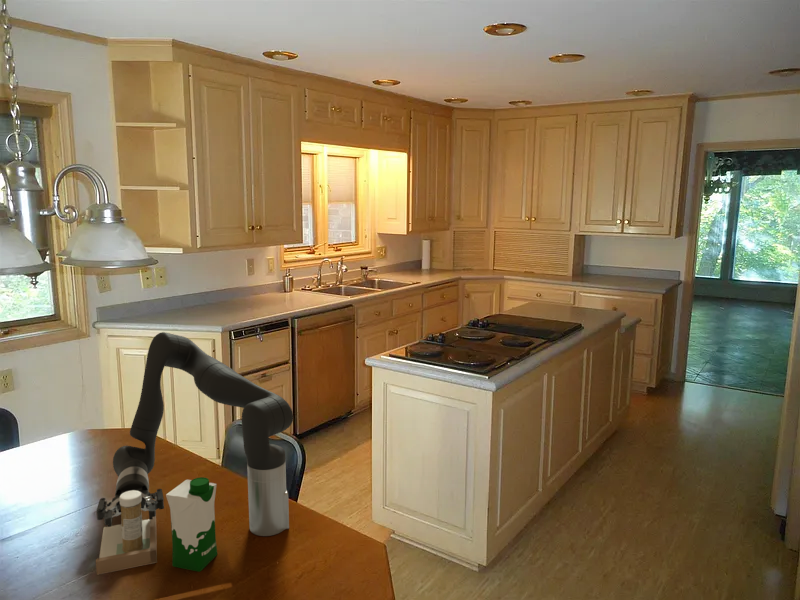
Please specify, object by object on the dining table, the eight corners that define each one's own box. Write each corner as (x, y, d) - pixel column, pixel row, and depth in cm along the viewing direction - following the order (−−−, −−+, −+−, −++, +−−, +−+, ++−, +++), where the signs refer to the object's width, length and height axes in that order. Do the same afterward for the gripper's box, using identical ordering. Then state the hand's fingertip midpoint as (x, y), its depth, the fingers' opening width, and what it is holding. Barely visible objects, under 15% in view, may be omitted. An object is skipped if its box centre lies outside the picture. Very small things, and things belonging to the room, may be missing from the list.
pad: (149, 538, 142) (149, 538, 142) (149, 555, 136) (149, 554, 136) (117, 544, 139) (117, 544, 139) (115, 561, 133) (115, 560, 133)
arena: (156, 520, 151) (155, 506, 151) (156, 565, 133) (155, 549, 132) (103, 530, 147) (102, 516, 146) (97, 577, 129) (95, 561, 128)
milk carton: (201, 578, 129) (196, 492, 126) (165, 570, 131) (160, 486, 128) (223, 555, 137) (220, 474, 134) (189, 548, 140) (185, 468, 136)
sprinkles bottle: (126, 543, 140) (123, 489, 137) (146, 542, 140) (144, 489, 138) (119, 554, 135) (116, 499, 133) (139, 554, 136) (137, 498, 133)
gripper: (99, 477, 146) (93, 509, 131) (162, 468, 151) (163, 498, 136) (101, 506, 147) (96, 541, 132) (163, 495, 152) (165, 528, 138)
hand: (130, 519), depth 134 cm, fingers open, 8 cm apart
